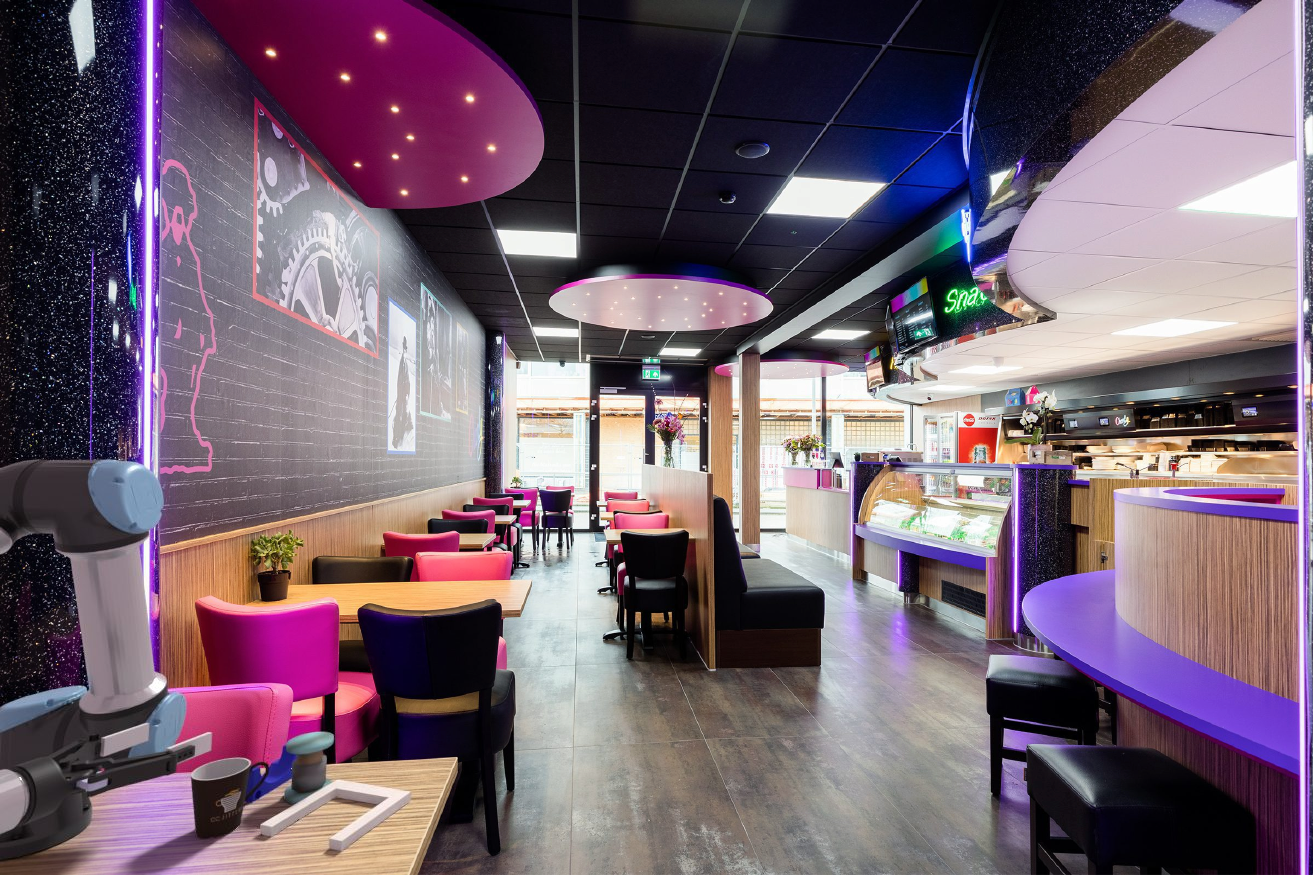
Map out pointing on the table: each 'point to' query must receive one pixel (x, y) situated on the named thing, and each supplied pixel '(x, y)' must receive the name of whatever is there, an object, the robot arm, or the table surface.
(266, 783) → the cable clip
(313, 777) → the bobbin
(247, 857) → the table surface
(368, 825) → the u-shaped bracket
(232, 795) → the coffee mug
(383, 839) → the table surface
